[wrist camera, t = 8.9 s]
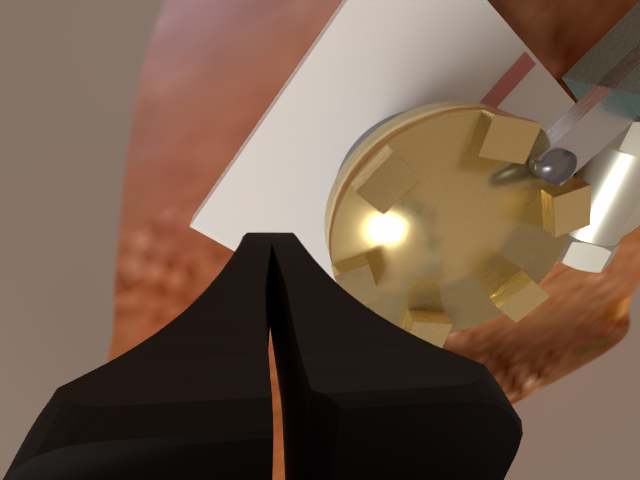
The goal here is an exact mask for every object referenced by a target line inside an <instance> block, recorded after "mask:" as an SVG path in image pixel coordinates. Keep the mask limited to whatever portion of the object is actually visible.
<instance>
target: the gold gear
mask: <svg viewBox="0 0 640 480" xmlns="http://www.w3.org/2000/svg"><path fill="white" fill-rule="evenodd" d="M561 78H562V79H563V80H564V82H565V83H566V85H567V86H568V87H569V89H570V90H571V92H572V93H573V94H574V96H575V97H576V99H577V100H578V102H577V103H576V104H575V105H574V106H573V107H572V108H570V109H569V110H568V111H567V112H566V113H565V114H564V115H563V116H562V117H561V118H560V119H559V120H558V121H557V122H556V123H555V124H554V125H553V126H551V127H550V128H549V129H548V130H547V131H546V132H545V131H544V130H542V129H541V126H542V124H541V123H539V122H536V121H534V120H531V119H529V118H524V117H519V116H515V115H512V114H510V113H508V112H505V111H503V110H500V109H498V108H495V107H493V106H489V105H486V104H482V103H479V102H471V101H443V102H437V103H431V104H427V105H424V106H421V107H417V108H414V109H412V110H409V111H407V112H405V113H403V114H400V115H398V116H396V117H395V118H393V119H391V120H390V121H388V122H386V123H385V124H383V125H382V126H380V127H379V128H378V129H376V130H375V131H374V132H373V133H371V134H370V135H369V136H368V137H367V138H366V139H365V140H364V141H363V142H362V143H361V144H360V145H359V146H358V147H357V148H356V149H355V150H354V151H353V153H352V154H351V155H350V156H349V158H348V159H347V160H346V161H345V163H344V165H343V166H342V168H341V170H340V171H339V173H338V175H337V177H336V179H335V181H334V183H333V186H332V188H331V190H330V194H329V197H328V201H327V204H326V211H325V217H324V233H325V240H326V246H327V249H328V253H329V256H330V259H331V263H332V265H331V268H332V271H333V275H334V278H335V280H336V282H337V283H338V284H339V285H340V286H341V287H342V288H343V289H344V290H345V291H347V292H348V293H349V294H350V295H352V296H353V297H354V298H356V299H357V300H358V301H360V302H361V303H362V304H364V305H365V306H366V307H368V308H369V309H371V310H372V311H374V312H375V313H376V314H378V315H380V316H381V317H383V318H385V319H386V320H388V321H390V322H391V323H393V324H394V325H396V326H398V327H400V328H402V329H403V330H405V331H407V332H409V333H411V334H413V335H415V336H417V337H419V338H421V339H423V340H425V341H427V342H429V343H431V344H433V345H436V346H438V347H440V348H442V347H443V345H444V343H445V341H446V338H447V336H448V334H449V333H452V332H458V331H461V330H464V329H468V328H471V327H474V326H476V325H479V324H481V323H484V322H486V321H488V320H490V319H492V318H494V317H496V316H498V315H500V314H501V313H504V314H506V315H507V316H508V317H509V318H511V319H512V320H513V321H514V322H515V323H517V322H519V321H520V320H521V319H522V318H524V317H525V316H526V315H527V314H529V313H530V312H531V311H532V310H534V309H535V308H536V307H537V306H539V305H540V304H541V303H542V302H544V301H545V300H546V299H547V298H549V297H550V296H549V295H548V294H547V293H546V292H545V291H544V290H543V289H542V288H541V287H540V286H539V285H538V284H539V283H540V281H541V280H542V279H543V278H544V277H545V276H546V274H547V273H548V272H549V271H550V269H551V268H552V267H553V265H554V264H555V262H556V260H557V259H558V257H559V256H560V254H561V252H562V250H563V248H564V246H565V244H566V242H567V240H568V237H569V234H570V232H572V231H575V230H578V229H581V228H584V227H587V226H589V225H590V216H591V184H589V183H587V182H585V181H583V180H581V179H579V178H577V177H575V178H574V174H575V173H576V172H577V171H578V170H579V169H580V168H581V167H583V166H584V165H585V164H586V163H587V162H588V161H589V160H590V159H592V158H593V157H594V156H595V155H596V154H597V153H598V152H599V151H601V150H602V149H603V148H604V147H605V146H606V145H607V144H608V143H610V142H611V141H612V140H613V139H614V138H615V137H616V136H617V135H619V134H620V133H621V132H622V131H623V130H624V129H625V128H626V127H628V126H629V125H630V124H631V123H632V122H633V121H636V122H640V1H639V2H638V3H637V4H636V5H635V6H634V7H633V8H632V9H631V10H629V11H628V12H627V13H626V14H625V15H624V16H623V17H622V18H621V19H620V20H619V21H618V22H617V23H616V24H615V25H614V26H613V27H612V28H611V29H610V30H609V31H608V32H607V33H606V34H605V35H604V36H603V37H602V38H601V39H600V40H599V41H598V42H597V43H596V44H595V45H594V46H593V47H592V48H591V49H590V50H589V51H588V52H587V53H586V54H585V55H584V56H583V57H582V58H581V59H580V60H579V61H578V62H577V63H575V64H574V65H573V66H572V67H571V68H570V69H569V70H568V71H567V72H566V73H565V74H564V75H563V76H562V77H561Z"/></svg>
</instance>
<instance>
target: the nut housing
mask: <svg viewBox="0 0 640 480" xmlns="http://www.w3.org/2000/svg"><path fill="white" fill-rule="evenodd" d="M443 101H471V102H479V103H482V104H486V105H489V106H493V107H495V108H498V109H500V110H503V111H505V112H508V113H510V114H512V115H515V116H519V117H524V118H529V119H531V120H534V121H536V122H539V123H541V124H542V126H541V129H542V130H544V131H545V132H546V131H547V130H548V129H549V128H550V127H551V126H553V125H554V124H555V123H556V122H557V121H558V120H559V119H560V118H561V117H562V116H563V115H564V114H565V113H566V112H567V111H568V110H569V109H570V108H572V107H573V106H574V105H575V104H576V103H575V102H574V101H573V100H572V99H571V98H570V96H569V95H568V94H567V93H566V92H565V91H564V89H563V88H562V87H561V86H560V85H559V84H558V82H557V81H556V80H555V79H554V78H553V77H552V75H551V74H550V73H549V72H548V71H547V70H546V68H545V67H544V66H543V65H542V64H541V63H540V61H539V60H538V59H537V58H536V57H535V55H534V54H533V53H532V52H531V51H530V50H529V48H528V47H527V46H526V45H525V44H524V43H523V41H522V40H521V39H520V38H519V37H518V36H517V34H516V33H515V32H514V31H513V30H512V29H511V27H510V26H509V25H508V24H507V23H506V22H505V20H504V19H503V18H502V17H501V16H500V15H499V13H498V12H497V11H496V10H495V9H494V8H493V6H492V5H491V4H490V3H489V2H488V0H343V1H342V2H341V3H340V5H339V6H338V8H337V9H336V11H335V12H334V13H333V15H332V16H331V18H330V19H329V21H328V22H327V24H326V25H325V26H324V28H323V29H322V31H321V32H320V34H319V35H318V37H317V38H316V39H315V41H314V42H313V44H312V45H311V47H310V48H309V50H308V51H307V52H306V54H305V55H304V57H303V58H302V60H301V61H300V62H299V64H298V65H297V67H296V68H295V70H294V71H293V73H292V74H291V75H290V77H289V78H288V80H287V81H286V83H285V84H284V86H283V87H282V88H281V90H280V91H279V93H278V94H277V96H276V97H275V99H274V100H273V101H272V103H271V104H270V106H269V107H268V109H267V110H266V112H265V113H264V114H263V116H262V117H261V119H260V120H259V122H258V123H257V124H256V126H255V127H254V129H253V130H252V132H251V133H250V135H249V136H248V137H247V139H246V140H245V142H244V143H243V145H242V146H241V148H240V149H239V150H238V152H237V153H236V155H235V156H234V158H233V159H232V161H231V162H230V163H229V165H228V166H227V168H226V169H225V171H224V172H223V173H222V175H221V176H220V178H219V179H218V181H217V182H216V184H215V185H214V186H213V188H212V189H211V191H210V192H209V194H208V195H207V197H206V198H205V199H204V201H203V202H202V204H201V205H200V207H199V208H198V210H197V211H196V212H195V214H194V215H193V218H192V221H191V224H190V227H192V228H194V229H195V230H197V231H199V232H201V233H203V234H204V235H206V236H208V237H210V238H212V239H213V240H215V241H217V242H219V243H221V244H222V245H224V246H226V247H228V248H230V249H232V250H233V251H236V249H237V247H238V246H239V244H240V242H241V240H242V237H243V236H244V235H245V234H246V233H247V232H279V233H294V234H295V235H296V236H297V237H298V239H299V240H300V242H301V243H302V244H303V246H304V247H305V248H306V249H307V251H308V252H309V253H310V254H311V256H312V257H313V258H314V259H315V260H316V262H317V263H318V264H319V265H320V266H321V267H322V268H323V269H324V270H325V271H326V273H327V274H328V275H329V276H330V277H331V278H332V279H333V280H334V281H335V282H336V280H335V278H334V275H333V271H332V268H331V265H332V263H331V259H330V256H329V253H328V249H327V246H326V240H325V233H324V217H325V211H326V204H327V201H328V197H329V194H330V190H331V188H332V186H333V183H334V181H335V179H336V177H337V175H338V173H339V171H340V170H341V168H342V166H343V165H344V163H345V161H346V160H347V159H348V158H349V156H350V155H351V154H352V153H353V151H354V150H355V149H356V148H357V147H358V146H359V145H360V144H361V143H362V142H363V141H364V140H365V139H366V138H367V137H368V136H369V135H370V134H371V133H373V132H374V131H375V130H376V129H378V128H379V127H380V126H382V125H383V124H385V123H386V122H388V121H390V120H391V119H393V118H395V117H396V116H398V115H400V114H403V113H405V112H407V111H409V110H412V109H414V108H417V107H421V106H424V105H427V104H431V103H437V102H443Z"/></svg>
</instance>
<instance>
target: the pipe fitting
mask: <svg viewBox="0 0 640 480" xmlns="http://www.w3.org/2000/svg"><path fill="white" fill-rule="evenodd" d="M575 177H577V178H579V179H581V180H583V181H585V182H587V183H589V184H591V216H590V225H589V226H587V227H584V228H581V229H578V230H575V231H572V232H570V234H569V237H568V240H567V242H566V244H565V246H564V248H563V250H562V252H561V254H560V256H559V257H558V259H557V260H556V261H558V262H560V263H562V264H564V265H567V266H569V267H572V268H575V269H578V270H582V271H587V272H598V273H600V272H602V271H603V270H604V269H605V268H606V267H607V266H608V265H609V264H610V262H611V260H612V259H613V257H614V255H615V253H616V252H617V250H618V248H619V246H620V245H621V243H620V242H619V241H620V239H621V238H622V237H623V236H625V235H626V234H628V233H629V232H631V231H632V230H634V229H635V228H637V227H638V226H640V122H636V121H633V122H632V123H631V124H630V125H629V126H628V127H626V128H625V129H624V130H623V131H622V132H621V133H620V134H619V135H617V136H616V137H615V138H614V139H613V140H612V141H611V142H610V143H608V144H607V145H606V146H605V147H604V148H603V149H602V150H601V151H599V152H598V153H597V154H596V155H595V156H594V157H593V158H592V159H590V160H589V161H588V162H587V163H586V164H585V165H584V166H583V167H581V168H580V169H579V170H578V171H577V173H576V175H575Z"/></svg>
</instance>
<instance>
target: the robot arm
mask: <svg viewBox="0 0 640 480" xmlns="http://www.w3.org/2000/svg"><path fill="white" fill-rule="evenodd" d="M270 329H271V336H272V343H273V350H274V357H275V363H276V370H277V377H278V383H279V390H280V397H281V407H282V420H283V441H284V463H285V480H504V478H505V476H506V474H507V472H508V470H509V468H510V466H511V463H512V462H513V460H514V457H515V455H516V453H517V451H518V448H519V445H520V440H521V438H522V435H523V432H522V423H521V419H520V418H519V416H518V415H517V413H516V412H515V410H514V408H513V407H512V405H511V403H510V402H509V400H508V398H507V397H506V395H505V394H504V392H503V390H502V389H501V387H500V386H499V384H498V383H497V381H496V380H495V379H494V377H493V376H492V375H491V373H490V372H489V371H488V369H487V368H486V367H485V365H483V364H481V363H478V362H476V361H473V360H470V359H468V358H465V357H463V356H460V355H458V354H455V353H453V352H450V351H448V350H445V349H443V348H440V347H438V346H436V345H433V344H431V343H429V342H427V341H425V340H423V339H421V338H419V337H417V336H415V335H413V334H411V333H409V332H407V331H405V330H403V329H402V328H400V327H398V326H396V325H394V324H393V323H391V322H390V321H388V320H386V319H385V318H383V317H381V316H380V315H378V314H376V313H375V312H374V311H372V310H371V309H369V308H368V307H366V306H365V305H364V304H362V303H361V302H360V301H358V300H357V299H356V298H354V297H353V296H352V295H350V294H349V293H348V292H347V291H345V290H344V289H343V288H342V287H341V286H340V285H339V284H338V283H337V282H335V281H334V280H333V279H332V278H331V277H330V276H329V275H328V274H327V273H326V271H325V270H324V269H323V268H322V267H321V266H320V265H319V264H318V263H317V262H316V260H315V259H314V258H313V257H312V256H311V254H310V253H309V252H308V251H307V249H306V248H305V247H304V246H303V244H302V243H301V242H300V240H299V239H298V237H297V236H296V235H295V234H294V233H279V232H247V233H246V234H245V235H244V236H243V237H242V240H241V242H240V244H239V246H238V247H237V249H236V251H235V252H234V254H233V256H232V257H231V259H230V260H229V261H228V263H227V264H226V266H225V267H224V268H223V270H222V271H221V272H220V274H219V275H218V276H217V277H216V278H215V280H214V281H213V282H212V283H211V284H210V285H209V287H208V288H207V289H206V290H205V291H204V292H203V293H202V294H201V295H200V296H199V297H198V298H197V299H196V300H195V301H194V302H193V303H192V304H191V305H190V306H189V307H188V308H187V309H186V310H185V311H184V312H183V313H181V314H180V315H179V316H178V317H176V318H175V319H174V320H173V321H171V322H170V323H169V324H168V325H166V326H165V327H164V328H162V329H161V330H160V331H158V332H157V333H156V334H154V335H153V336H151V337H150V338H148V339H147V340H145V341H144V342H142V343H141V344H139V345H137V346H136V347H134V348H132V349H131V350H129V351H127V352H126V353H124V354H123V355H121V356H119V357H117V358H116V359H114V360H112V361H110V362H109V363H107V364H105V365H103V366H101V367H99V368H97V369H95V370H93V371H91V372H89V373H87V374H85V375H83V376H81V377H79V378H77V379H75V380H74V381H71V382H69V383H67V384H65V385H63V386H61V387H59V388H58V389H57V390H56V391H55V393H54V395H53V396H52V398H51V399H50V401H49V402H48V403H47V405H46V406H45V408H44V409H43V410H42V412H41V413H40V415H39V416H38V418H37V419H36V421H35V423H34V424H33V426H32V427H31V429H30V431H29V432H28V434H27V436H26V438H25V440H24V442H23V443H22V445H21V447H20V449H19V451H18V453H17V454H16V456H15V458H14V460H13V462H12V464H11V466H10V467H9V469H8V471H7V473H6V475H5V477H4V479H3V480H272V469H273V409H272V391H271V380H270V368H269V355H268V346H269V333H270Z"/></svg>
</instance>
